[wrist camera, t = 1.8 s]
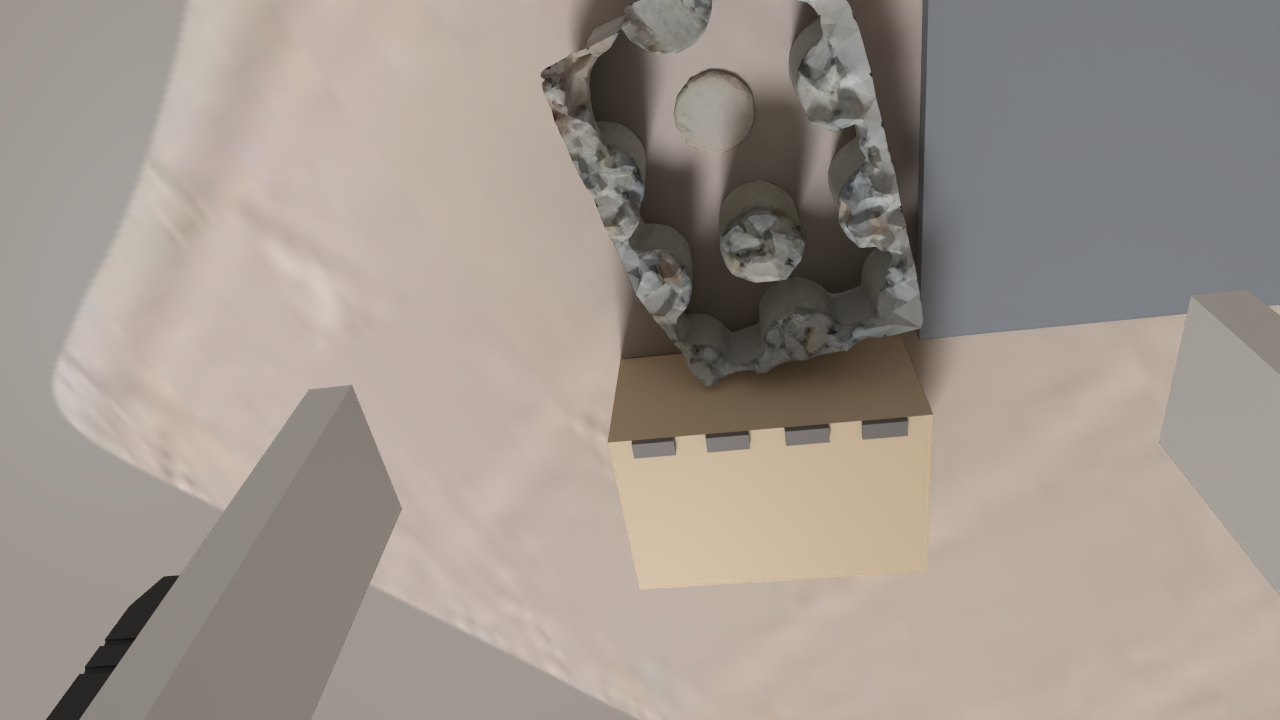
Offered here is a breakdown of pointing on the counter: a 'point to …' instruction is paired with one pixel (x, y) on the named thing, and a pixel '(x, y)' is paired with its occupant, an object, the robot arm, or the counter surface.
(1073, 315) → the mat
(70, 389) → the counter surface
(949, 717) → the counter surface
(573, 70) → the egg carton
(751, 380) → the sleeve
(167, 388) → the counter surface
